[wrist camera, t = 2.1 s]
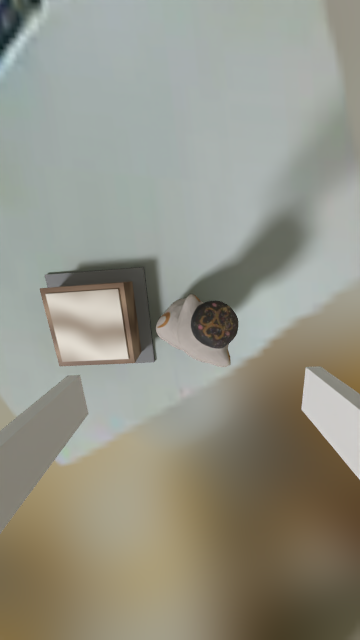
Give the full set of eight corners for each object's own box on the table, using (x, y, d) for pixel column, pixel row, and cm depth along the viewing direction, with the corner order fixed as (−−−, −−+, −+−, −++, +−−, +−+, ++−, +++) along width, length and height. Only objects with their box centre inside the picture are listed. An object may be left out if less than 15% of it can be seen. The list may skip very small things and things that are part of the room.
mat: (46, 274, 29) (44, 274, 29) (143, 267, 28) (143, 267, 28) (68, 364, 33) (66, 365, 33) (154, 361, 32) (154, 362, 32)
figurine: (225, 330, 30) (258, 383, 16) (168, 346, 31) (149, 409, 17) (211, 279, 28) (234, 285, 14) (151, 298, 29) (113, 322, 15)
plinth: (59, 286, 29) (38, 288, 25) (132, 281, 28) (122, 282, 24) (75, 355, 32) (58, 366, 28) (141, 352, 31) (134, 363, 27)
